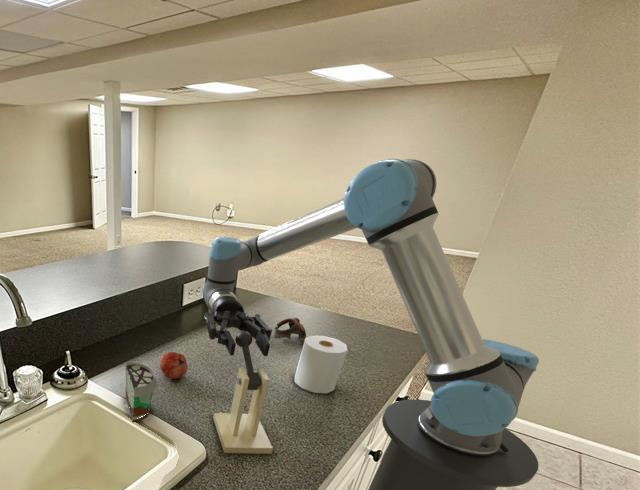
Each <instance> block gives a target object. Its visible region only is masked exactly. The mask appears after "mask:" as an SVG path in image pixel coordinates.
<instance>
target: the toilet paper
mask: <svg viewBox="0 0 640 490" xmlns="http://www.w3.org/2000/svg"><path fill="white" fill-rule="evenodd" d="M347 353H348V346H347V344H346V343H344V342H343V341H341V340H340V339H337V338H333V337H330V336H327V335H310V336H306V338H305V341H304V345H303V344H302V349H301V352H300V356H299V360H298V363H297V366H296V371H295V374H294V383H295V384H296V385H297V386H298V387H300V388H301V389H302V390H306V391H308V392H311V393H314V394H329V393H331V392H333V391H335V389H336V385H337V383H338V380H339V377H340V374H341V371H342V369H343V365H344V362H345V360H346V357H347Z"/></svg>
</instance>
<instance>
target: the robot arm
mask: <svg viewBox="0 0 640 490" xmlns="http://www.w3.org/2000/svg"><path fill="white" fill-rule="evenodd" d="M436 190H437V176H436V174H435V172H434V170H433V169H432V167H431V166H430V165H428V164H427V163H425V162H424V161H422V160H418V159H413V158H412V159H411V158H410V159H409V158H407V159H399V158H386V159H383V160H379V161H377V162H374V163H372V164H370V165H367V166H366V167H364V168H363V169H362V170H360V171H359V172H358V173H357V174H356V175H355V176H354V177H353V178H352V180H351V181H350V183H349V185H348V186H347V188H346V191H345V193H344V197H343V198H340V199H339V200H336V201H334V202H332V203H329V204H327V205H324V206H322V207H320V208H318V209H315V210H313V211H311V212H308V213H307V214H304V215H302V216H299V217H297V218H295V219H292V220H290V221H288V222H286V223H283V224H281V225H278V226H277V227H275V228H272V229H269V230H268V231H265V232H263V233H261V234H258V235H256V236H254V237H251V238H249V239H247V240H242V241H241V240H240V239H239V238H237V237H231V236H217V237H214V239H213V240H212V243H211V248H210V251H209V260H208V266H207V267H208V269H207V276H206V282H205V283H204V285H203V287H202V298H203V301H204V302H205V304H206V306H207V308H208V310H209V309H210V311H211V313H212V315H211V314H210V313H209V312H205V313H204V317H203V318H204V319H203V324H204V325H205V326H206V329H207V332H208V337H209V340H215V339H217V344H218V345H219V344H220V345H222V346H225V347H226V350H227V352H228V353H229V354H228V355H229V356H235V351H236V346H237V344H236V341H235V339H234V337H233V336H232V334H231V332H230V331H229V330H228V329H230V328H234V329H237V330H239V331H240V332H242V331H246V332H248V333H250V334H251V336H252V339H254V340H255V342H254V344H255V345H256V346H257V348H258V350H259V351H260V352H261V354H262V356H263V357H268V355H269V351H270V348H271V347H270V346H271V344H270V341H271V337H272V332H273V330H272V328H270V326H269V325H268V324H267V323H266V322H265V321H264V320H263V319H262V318H261V314H257V313H255V314H254V315H252V316H249V314H248V313H246V312H245V309H244V307H243V305H242V303H241V302H240V301H239V299H238V298H237V296H236V295H235V293H234V289H235V282H236V277H237V272H239V271H243V270H245V269H249V268H252V267H257V266H260V265H262V264H263V263H266V262H268V261H272V260H273V259H277V258H279V257H282V256H285V255H287V254H290V253H293V252H297V251H298V250H301V249H304V248H307V247H309V246H312V245H315V244H318V243H320V242H323V241H326V240H328V239H331V238H334V237H337V236H339V235H342V234H345V233H347V232H351V231H353V230H355V229H358V230H361V231H362V233H363V236H364V238H365V240H366V243H367V245H368V247H370V248H373V249H377V250H379V251H380V252H381V254H382V255H383V258H384V260H385V263H386V265H387V267H388V269H389V271H390V274H391V277H392V279H393V281H394V283H395V285H396V288H397V290H398V292H399V295H400V297H401V299H402V301H403V303H404V306H405V308H406V310H407V312H408V315H409V317H410V319H411V322H412V325H413V327H414V329H415V331H416V333H417V335H418V338H419V340H420V343H421V344H422V347H423V349H424V351H425V353H426V356H427V358H428V360H429V362H428V364H427V366H426V368H425V369H424V374H425V376H426V379H427V381H428V383H429V386H430V388H431V390H432V392H433V394H432V396H431V399H430V401H432V402H431V405H430V406H429V407H428V408H427V409H426V410H425V411H423V413H422V414H421V415H420V417H419V419H418V421H417V426H418V428H419V430H420V431H421V432H422V433H423V434H424V435H425V436H426V437H427V438H428V439H430V440H431V441H433V442H434V443H436V444H438V445H440V446H441V447H444V448H446V449H448V450H450V451H453V452H456V453H459V454H462V455H466V456H472V457H490V456H493V455H495V454H496V453H497V451H498V449H499V448H501V449H502V450H503V451H504V452H508V451H509V450H508V449H507V448H506V447H505V446H504V445H503V444H502V443H501V441H502V431H503V429H505V428H506V429H507V428H508V427H509V426H510V424H511V423H512V422H513V421H514V420H515V419H516V417H517V415H518V411H519V406H520V404H521V401H522V397H523V393H524V390H525V388H526V385H527V384H528V382H529V380H530V379H531V377H532V375H533V374H534V373H535V372H536V371H537V367H538V365H539V363H540V359H539V357H538V356H537V355H536V354H535V353H533V352H531V351H529V350H527V349H523V348H521V347H518V346H515V345H512V344H508V343H505V342H500V341H498V340H497V341H496V340H491V339H486V338H485V339H484V338H482V335H481V333H480V331H479V329H478V326H477V324H476V322H475V319H474V318H473V316H472V313H471V310H470V309H469V307H468V306H469V305H468V303H467V302H466V300H465V297H464V295H463V293H462V291H461V288H460V285H459V284H458V281H457V279H456V276H455V274H454V272H453V270H452V268H451V265H450V263H449V261H448V258H447V256H446V254H445V251H444V250H443V247H442V245H441V243H440V241H439V238H438V236H437V233H436V231H435V229H434V225H435V222H436V221H437V219H438V218H439V216H440V213H439V211H438V209H437V206H436V204H435V202H434V200H433V199H434V196H435V194H436ZM216 325H218V326H219V329H217V326H216Z"/></svg>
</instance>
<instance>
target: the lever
mask: <svg viewBox="0 0 640 490" xmlns="http://www.w3.org/2000/svg"><path fill="white" fill-rule="evenodd" d="M234 341H235V343H236V346H238V347H240V348H242V353H243V354H242V355H243V358H244V364H245V369H246V374H247V375H248V377H249V384H248V388H247V391H253V390H257V389H258V388H259V386H260V384H261V383H260V379H259V374H258V373H257V372H258V371H257V372H255V371H254V365H253V361H252V356H251V350H250V346H251V344H252V343H253V337H252V336H251V334H250V333H248V332H246V331H240V332H239V331H238V333H237V334H236V335H235V339H234Z"/></svg>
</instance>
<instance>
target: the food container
mask: <svg viewBox="0 0 640 490" xmlns="http://www.w3.org/2000/svg"><path fill="white" fill-rule="evenodd" d="M157 385H158V381H157V376H156V374H155V372H154V370H153V369H152V368H151V367H149V366H147V365H145V364H142V363H140V362H139V363H138V362H132V361H131V362H130V361H127V362H126V363H125V402H126V405H127V409H128V413H129V415H130V420H131V423H137V422H141V421H143V420H145V419H146V418H147V417H148V416H149V415H150V412H151V405H152V399H153V395H154V391H155V389H156V388H157ZM129 407H130V408H129ZM147 413H148V414H147ZM145 414H146V415H145ZM144 415H145V416H144ZM141 416H143V417H141ZM139 417H141V418H139ZM137 418H138V419H137Z"/></svg>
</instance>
